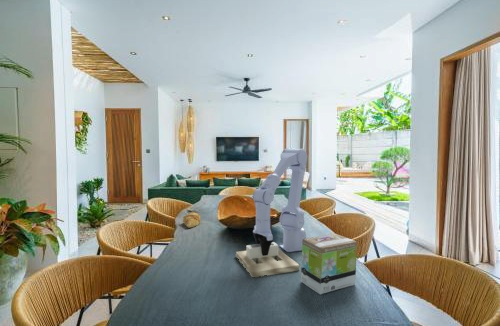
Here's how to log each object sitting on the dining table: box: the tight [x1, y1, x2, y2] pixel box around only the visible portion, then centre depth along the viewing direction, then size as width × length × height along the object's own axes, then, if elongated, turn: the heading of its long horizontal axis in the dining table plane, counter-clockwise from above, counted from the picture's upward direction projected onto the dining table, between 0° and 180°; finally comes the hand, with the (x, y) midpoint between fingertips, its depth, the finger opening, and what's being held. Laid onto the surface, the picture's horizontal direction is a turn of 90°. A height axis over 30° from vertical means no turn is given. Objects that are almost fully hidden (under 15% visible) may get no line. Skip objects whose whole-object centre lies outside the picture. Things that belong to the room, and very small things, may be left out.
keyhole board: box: [235, 248, 300, 278], centre depth 109 cm, size 18×20×2 cm
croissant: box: [182, 211, 201, 229], centre depth 165 cm, size 21×10×8 cm, turn 4°
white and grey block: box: [245, 241, 279, 263], centre depth 111 cm, size 12×4×6 cm, turn 109°
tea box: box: [300, 233, 358, 296], centre depth 92 cm, size 15×10×15 cm, turn 118°
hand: (262, 253), depth 111 cm, fingers open, 4 cm apart
